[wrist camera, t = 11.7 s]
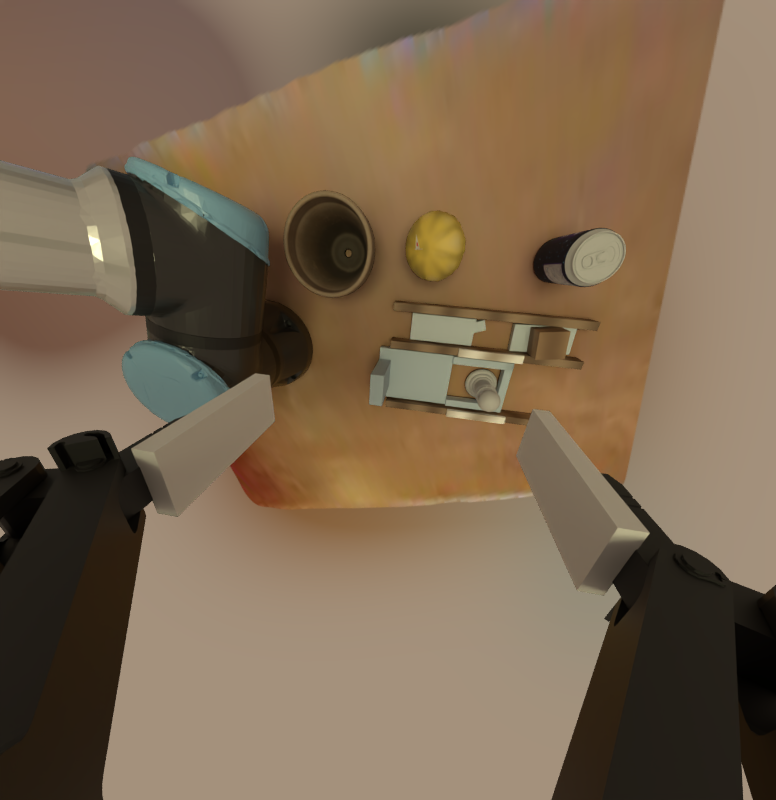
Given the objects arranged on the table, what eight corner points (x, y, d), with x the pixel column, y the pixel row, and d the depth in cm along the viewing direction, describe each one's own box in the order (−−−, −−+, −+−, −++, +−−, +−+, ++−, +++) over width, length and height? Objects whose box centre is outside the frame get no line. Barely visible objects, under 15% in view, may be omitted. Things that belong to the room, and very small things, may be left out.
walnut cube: (526, 352, 44) (535, 359, 40) (530, 326, 42) (539, 332, 39) (553, 351, 43) (564, 359, 40) (558, 326, 42) (570, 331, 38)
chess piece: (502, 375, 47) (516, 397, 39) (485, 400, 50) (496, 426, 42) (474, 363, 47) (483, 383, 39) (459, 389, 50) (464, 412, 42)
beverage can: (577, 273, 40) (631, 276, 29) (534, 288, 41) (571, 295, 30) (573, 230, 37) (630, 216, 27) (528, 247, 39) (565, 240, 28)
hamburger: (460, 274, 42) (470, 277, 31) (412, 283, 43) (406, 288, 32) (457, 215, 39) (466, 195, 28) (406, 226, 40) (396, 211, 29)
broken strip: (410, 338, 47) (409, 339, 46) (413, 309, 45) (413, 310, 44) (564, 355, 45) (567, 357, 43) (575, 326, 42) (579, 327, 41)
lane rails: (387, 400, 53) (385, 408, 50) (395, 300, 45) (393, 302, 42) (550, 422, 50) (557, 431, 47) (591, 319, 42) (602, 323, 39)
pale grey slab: (378, 392, 52) (368, 415, 44) (381, 345, 48) (371, 361, 40) (497, 408, 50) (510, 435, 42) (511, 360, 46) (528, 380, 38)
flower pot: (308, 208, 41) (273, 192, 32) (383, 204, 39) (369, 186, 30) (318, 292, 46) (290, 298, 37) (385, 291, 44) (374, 297, 35)
